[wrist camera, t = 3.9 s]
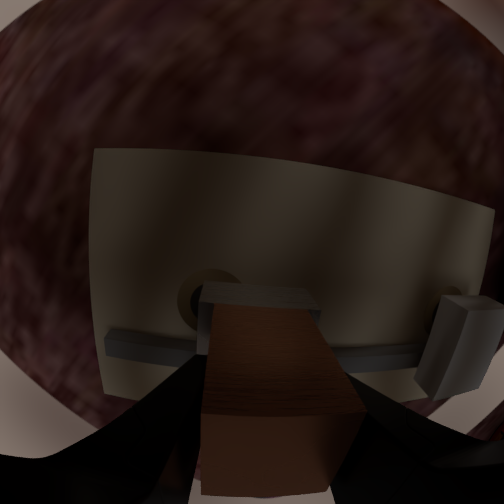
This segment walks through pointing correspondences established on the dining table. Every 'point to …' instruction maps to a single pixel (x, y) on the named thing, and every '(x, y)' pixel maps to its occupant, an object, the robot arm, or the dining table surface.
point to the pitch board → (288, 265)
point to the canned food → (498, 433)
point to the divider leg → (270, 394)
